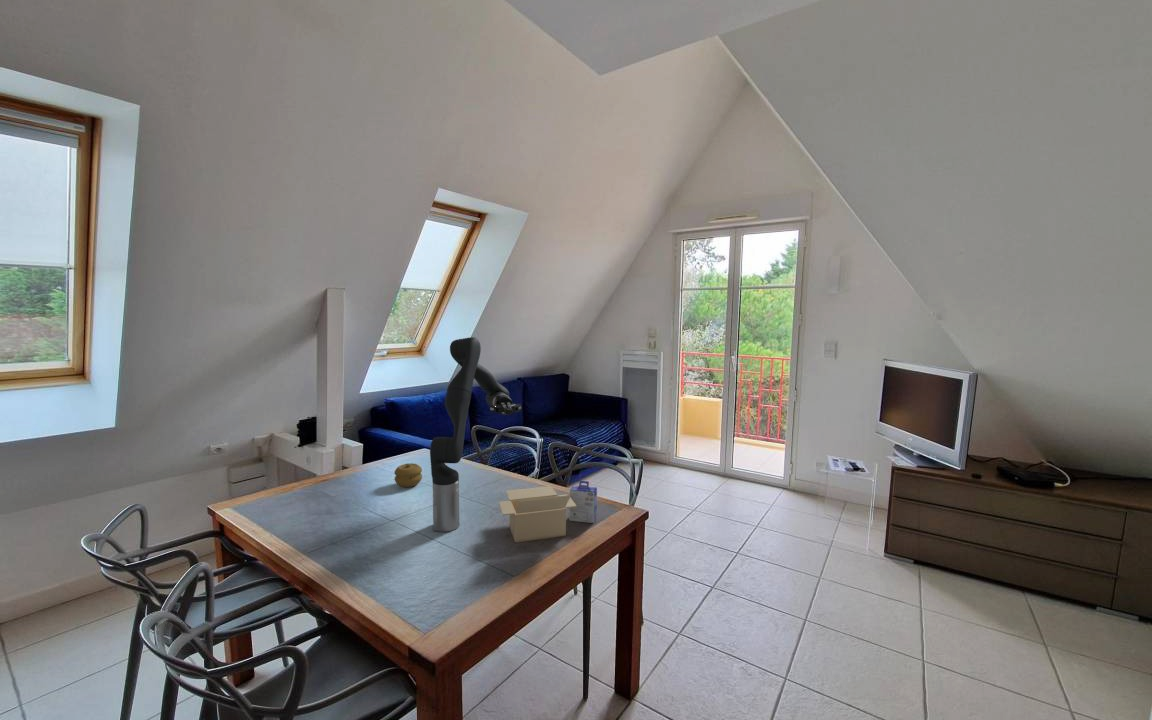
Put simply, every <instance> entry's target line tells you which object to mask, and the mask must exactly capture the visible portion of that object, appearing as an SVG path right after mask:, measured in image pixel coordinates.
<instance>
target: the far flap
mask: <svg viewBox="0 0 1152 720" xmlns="http://www.w3.org/2000/svg"><path fill="white" fill-rule="evenodd" d="M569 498H570V494H568V496H559V497H550V498H541V499H532V500H522V501H519V504H518V508H517V511H516V513H522V512H530V511H539V510H548V509H556V508H565V507H566V505H567V503H568V501H569Z"/></svg>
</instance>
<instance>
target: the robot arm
mask: <svg viewBox="0 0 1152 720" xmlns="http://www.w3.org/2000/svg"><path fill="white" fill-rule="evenodd" d="M481 349H482V348H481V342H480V341H479V339H478V338H476V337H474V336H473V337H471V336H470V337H465V338H458V339H454V340H453V341H452V342H451V343H450V345H449V353H450V355H451V357H452V359H453V360H454V361H455V362H456V363H457V364H458V365H459V366H460V370H458V372H457V373H456V375H455V376H454V377H453V378H452V380H451V381H450V383H449V384H448V386H447V389H446V394H445V398H444V406H445V409H446V412H447V414H448V416H449V417H450V419H451V422H452V425H453V437H451V436H450V437H449V436H436V437H434V438H432V440H431V443H430V446H429V455H430V457H429V458H430V459H429V460H430V471H431V472H430V473H431V478H432V479H431V480H432V481H431V482H432V519H433V521H432V523H433V524H432V525H433V532H444V533H445V532H452V531H455V530H456V529H458V528H459V527H460V476H459V475H460V474H459V472H458V471H457V470H456V469H453V468H452V467H449V466H448V465H447V464H458V463H460V462H461V459H462V457H463V452H464V444H465V434H466V425H467V424H466V423H467V419H468V415H469V414H468V413H469V410H470V409H469V408H470V403H471V399H472V392H473V385H474V380H475V381H476V382H477V384H478V385H479V387H480V388H481V389H482V392H484V393H486V396H485V401H486V404H488V406H489V407H490V410H489V411H490V413H495V414H499V415H503V416H505V415H507V416H511V415H512V414H515V413H518V412H520V411H522V404H521V403H517V404H515V403H514V402H513V400H512V399H511V398H510V391H509V390H508V389H507V388H506V387H505V386H503V385H502V384H501V383H500V382H498V380H497V379H496V378H495V377H494V375H493V374H492V372H490V370H488V369H487V368H485V367H484V366H482V365H481V364H478V363H479V361H480V360H479V359H480V357H481Z"/></svg>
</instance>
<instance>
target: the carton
mask: <svg viewBox="0 0 1152 720" xmlns="http://www.w3.org/2000/svg"><path fill="white" fill-rule="evenodd" d="M505 495H506V496H507V498H508V500H503V501H498V505H499V507H500V511H501V514H502V516H509V529H510V530H509V531H510V532H511V535H512V539H513V541H514V543H515V544H517V543H524V542H532V541H540V540H546V539H553V538H554V539H555V538H562V537H566V536H567V509H568V508H569V509H570V508H571V507H577V506H576V504H575V503H574V502H573V500H572V499H571V498H569V501H568V503H567V505H566V507H565V508H556V509H548V510H539V511H530V512H522V513H516V511H517V508H518V504H519V501H522V500H532V499H541V498H550V497H559V496H568V495H569V494H568V493H567V494H558V493H557V492H556V490H555V489H554V488H553V486H552V485H549V486H548V485H547V486H539V487H537V486H536V487H531V488H528V487H527V488H520V489H509V490H505Z"/></svg>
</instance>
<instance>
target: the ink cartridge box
mask: <svg viewBox="0 0 1152 720" xmlns="http://www.w3.org/2000/svg"><path fill="white" fill-rule="evenodd" d="M589 483H590V482H589V481H585V480H579V484H578V485H572V486H571V488H570V490H569V495H570V498H571V499H572V500H573V502H574V503H575V504H576V506H577V507H571V508H569V517H568V520H569V521H570V522H579V523H580V522H582V523H590V524H595V521H596V520H597V519H598V517H597V516H598V515H597V514H598V512H597V509H598V505H597V504H598V494H597V493H598V488H597V487H595V486H590V484H589ZM585 484H586V485H585Z"/></svg>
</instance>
